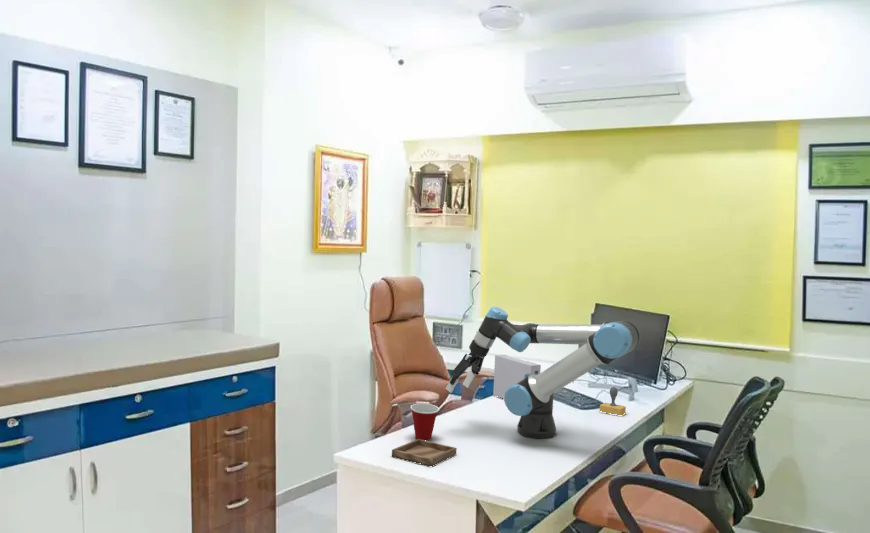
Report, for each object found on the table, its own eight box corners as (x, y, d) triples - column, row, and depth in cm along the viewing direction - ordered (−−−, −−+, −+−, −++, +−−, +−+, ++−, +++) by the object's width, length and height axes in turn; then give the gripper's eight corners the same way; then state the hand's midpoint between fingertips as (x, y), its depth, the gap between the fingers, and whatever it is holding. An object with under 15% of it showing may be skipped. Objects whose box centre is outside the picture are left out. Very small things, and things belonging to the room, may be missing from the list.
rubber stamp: (625, 414, 294) (627, 387, 294) (620, 417, 289) (622, 389, 289) (604, 410, 300) (605, 384, 299) (599, 412, 295) (600, 386, 295)
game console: (502, 395, 321) (504, 354, 321) (539, 408, 298) (541, 364, 297) (493, 396, 318) (494, 355, 318) (529, 409, 295) (531, 365, 294)
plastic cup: (416, 444, 239) (418, 411, 238) (404, 436, 248) (405, 404, 248) (443, 441, 244) (444, 409, 243) (430, 433, 253) (431, 402, 253)
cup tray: (456, 454, 229) (456, 447, 229) (431, 467, 216) (431, 459, 216) (418, 445, 238) (418, 438, 238) (391, 456, 224) (391, 449, 224)
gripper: (488, 336, 269) (465, 378, 274) (458, 340, 247) (433, 386, 253) (503, 346, 265) (478, 389, 270) (474, 351, 244) (448, 398, 249)
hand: (457, 388), depth 262 cm, fingers open, 13 cm apart
